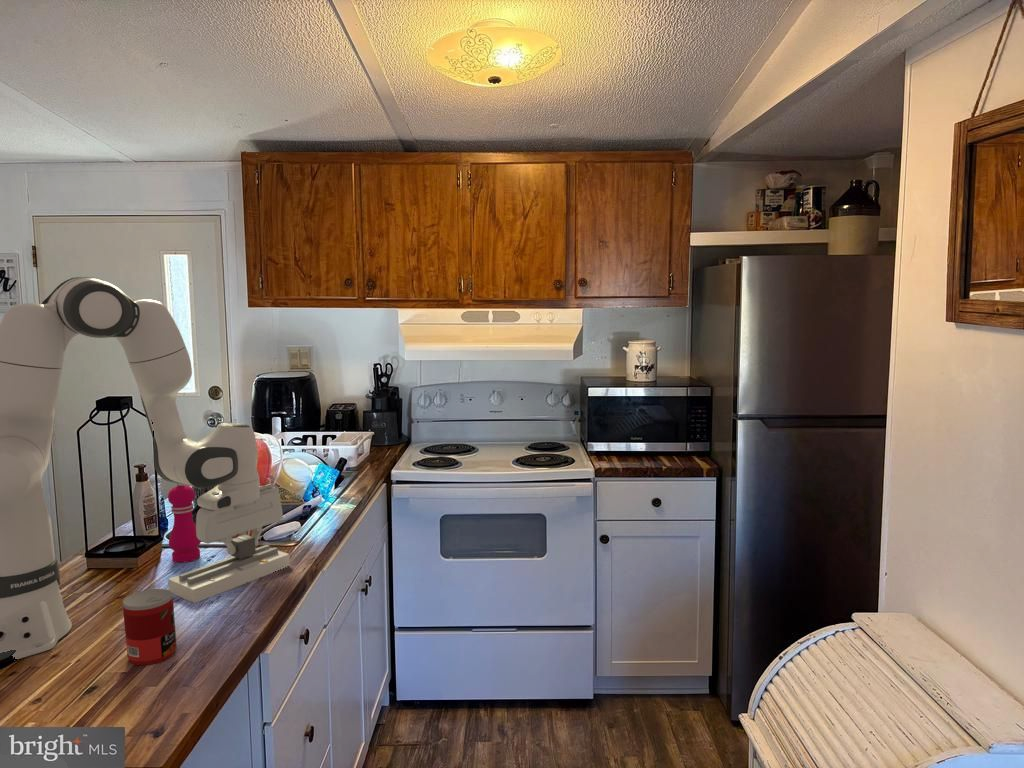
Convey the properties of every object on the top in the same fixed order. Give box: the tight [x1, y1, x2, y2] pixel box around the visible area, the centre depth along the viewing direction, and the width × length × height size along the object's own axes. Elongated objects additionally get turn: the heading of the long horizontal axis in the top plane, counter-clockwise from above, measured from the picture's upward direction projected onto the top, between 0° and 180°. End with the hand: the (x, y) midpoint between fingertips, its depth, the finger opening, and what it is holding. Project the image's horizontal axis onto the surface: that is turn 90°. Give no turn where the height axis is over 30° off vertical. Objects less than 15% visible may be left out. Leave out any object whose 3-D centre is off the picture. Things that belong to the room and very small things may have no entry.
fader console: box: [167, 544, 291, 604], centre depth 158 cm, size 24×10×4 cm, turn 144°
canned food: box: [122, 588, 177, 666], centre depth 124 cm, size 8×8×11 cm
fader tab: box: [230, 535, 256, 560], centre depth 161 cm, size 4×4×6 cm
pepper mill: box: [167, 483, 202, 564], centre depth 170 cm, size 7×7×20 cm
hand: (243, 549), depth 161 cm, fingers closed on fader tab, 4 cm apart
